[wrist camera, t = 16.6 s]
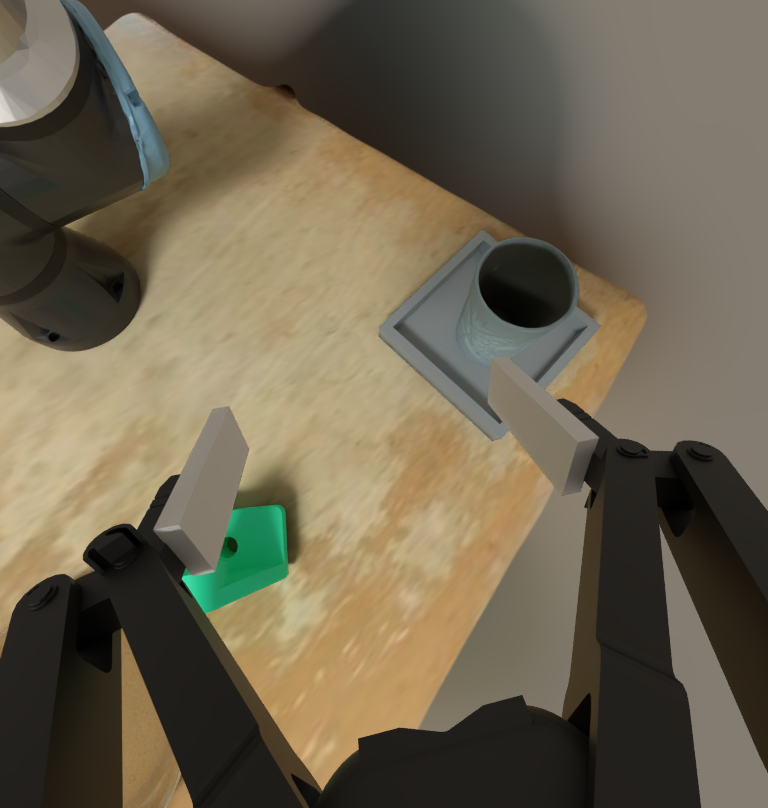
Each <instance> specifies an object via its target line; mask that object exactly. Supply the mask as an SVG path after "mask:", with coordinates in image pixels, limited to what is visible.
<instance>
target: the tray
mask: <svg viewBox="0 0 768 808" xmlns="http://www.w3.org/2000/svg"><path fill="white" fill-rule="evenodd" d="M497 243H499V242H498V241H497V240H495V239H494V238H493V237H492V236H490V235H489V234H488V233H487V232H486V231H484V230H483V229H482V230H481V231H480V232H479V233H478V234H477V235H476V236H475V237H473V238H472V239H471V240H470V241H469V242H468V243H467V244H466V245H465V246H464V247H463V248H462V249H461V250H460V251H459V252H458V253H457V254H456V255H454V256H453V257H452V258H451V259H450V260H449V261H448V262H447V263H446V264H445V265H444V266H443V267H442V268H441V269H440V270H439V271H438V272H437V273H435V274H434V275H433V276H432V277H431V278H430V279H429V280H428V281H427V282H426V283H425V284H424V285H423V286H422V287H421V288H420V289H419V290H418V291H416V292H415V293H414V294H413V295H412V296H411V297H410V298H409V299H408V300H407V301H406V302H405V303H404V304H403V305H402V306H401V307H400V308H398V309H397V310H396V311H395V312H394V313H393V314H392V315H391V316H390V317H389V318H388V319H387V320H386V321H385V322H384V323H383V324H382V325H381V326H379V337H380V338H381V339H382V340H383V341H384V342H385V343H386V344H387V345H388V346H390V347H391V348H392V349H393V350H394V351H395V352H396V353H397V354H398V355H399V356H400V357H401V358H403V359H404V360H405V361H406V362H407V363H408V364H409V365H410V366H411V367H412V368H413V369H415V370H416V371H417V372H418V373H419V374H420V375H421V376H422V377H423V378H424V379H425V380H426V381H428V382H429V383H430V384H431V385H432V386H433V387H434V388H435V389H436V390H437V391H438V392H440V393H441V394H442V395H443V396H444V397H445V398H446V399H447V400H448V401H449V402H450V403H451V404H453V405H454V406H455V407H456V408H457V409H458V410H459V411H460V412H461V413H462V414H463V415H465V416H466V417H467V418H468V419H469V420H470V421H471V422H472V423H473V424H474V425H475V426H476V427H478V428H479V429H480V430H481V431H482V432H483V433H484V434H485V435H486V436H487V437H488V438H490V439H491V440H492V441H494V440H498V439H502V437H503V436H504V435H505V434H506V433H507V432H508V431H509V429H508V428H507V427H506V425H505V424H504V423H503V422H502V420H501V419H500V418H499V417H498V415H497V414H496V413H495V412H494V410H493V409H492V408H491V407H490V405H489V404H488V393H489V381H490V369H491V366H487V365H481V364H479V363H476V362H474V361H472V360H471V359H469V358H468V357H466V356H465V354H464V353H462V352H461V349H460V348H459V346H458V343H457V341H456V326H457V323H458V320H459V317H460V314H461V312H462V309H463V308H464V303H465V302H466V300H467V298H468V296H469V291H470V286H471V283H472V280H473V277H474V274H475V270H476V268H477V265H478V263H479V261H480V259H481V257H482V256H483V255H484V254H485V252H486V251H487V250H489V249H490V248H491V247H492V246H493V245H495V244H497ZM600 327H601V325H599V324H598V323H597V322H596V321H595V320H593V319H592V318H591V317H590V316H588V315H587V314H586V313H585V312H584V311H582V310H581V309H580V308H579V307H577V306H576V307H575V309H574V311H573V312H572V314H571V315H570V316H569V317H568V318H567V320H565V321H564V322H563V323H561V324H560V325H559V326H557V327H556V328H554V329H553V330H551V331H550V332H548V333H547V334H545V335H544V336H542V337H540V339H539V340H537V341H535V342H534V343H533V344H531V345H530V346H529V347H527V348H525V349H524V350H523V351H521V352H520V353H518V354H517V355H515V356H514V357H513V358H511V359H510V360H511V361H512V362H513V363H515V364H516V365H517V366H518V367H519V368H520V369H521V370H523V371H524V372H525V373H526V374H527V375H528V376H529V377H531V378H532V379H533V380H534V381H535V382H536V383H537V384H539V385H540V386H541V387H542V388H543V389H544V390H545V389H546V388H547V387H548V385H549V384H550V383H551V382H552V381H553V380H554V379H555V378H556V376H557V375H558V374H559V373H560V372H561V371H562V370H563V369H564V367H565V366H566V365H567V364H568V363H569V362H570V361H571V360H572V358H573V357H574V356H575V355H576V354H577V353H578V352H579V351H580V349H581V348H582V347H583V346H584V345H585V344H586V343H587V341H588V340H589V339H590V338H591V337H592V336H593V335H594V334H595V332H596V331H597V330H598V329H599V328H600Z"/></svg>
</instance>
